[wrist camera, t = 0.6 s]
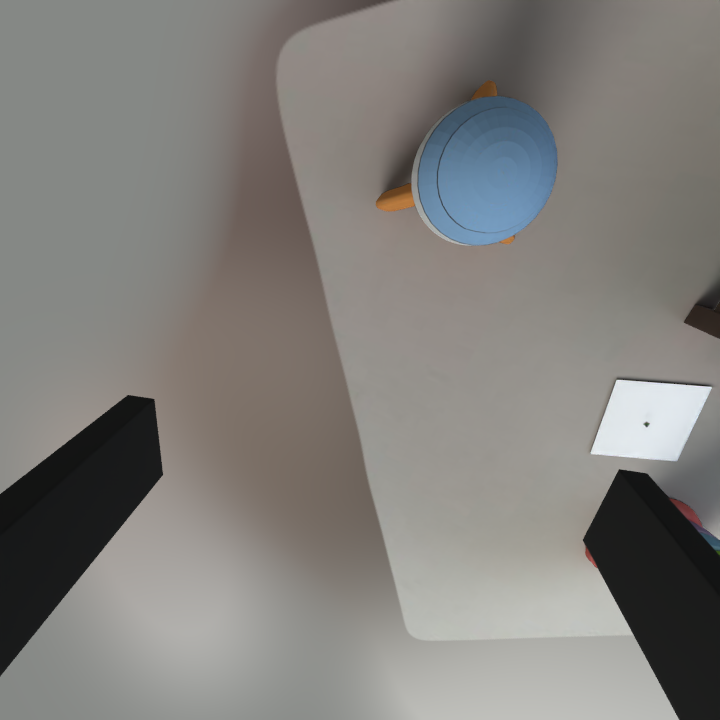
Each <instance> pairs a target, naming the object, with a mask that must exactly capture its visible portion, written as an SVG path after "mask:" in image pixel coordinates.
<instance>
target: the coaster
mask: <svg viewBox="0 0 720 720" xmlns="http://www.w3.org/2000/svg"><path fill="white" fill-rule="evenodd" d="M711 388H712V387H706V386H693V385H680V384H667V383H654V382H641V381H627V380H616V383H615V386H614V389H613V392H612V394H611V397H610V400H609V403H608V405H607V408H606V411H605V414H604V417H603V419H602V422H601V425H600V428H599V431H598V433H597V436H596V439H595V442H594V444H593V447H592V450H591V453H590V454H597V455H608V456H620V457H632V458H643V459H655V460H666V461H677V460H678V458H679V456H680V453H681V451H682V449H683V447H684V445H685V443H686V441H687V439H688V437H689V435H690V432H691V430H692V428H693V426H694V424H695V422H696V420H697V418H698V416H699V414H700V411H701V409H702V407H703V405H704V403H705V401H706V399H707V397H708V395H709V393H710V390H711Z"/></svg>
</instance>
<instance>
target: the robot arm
mask: <svg viewBox="0 0 720 720" xmlns="http://www.w3.org/2000/svg"><path fill="white" fill-rule="evenodd" d="M162 475H163V472H162V462H161V453H160V445H159V436H158V427H157V419H156V411H155V401H154V399H151V398H144V397H137V396H131V395H128V396H127V397H125V398H124V399H122V400H121V401H120V402H118V403H117V404H116V405H115V406H113V407H112V408H111V409H110V410H108V411H107V412H106V413H104V414H103V415H102V416H100V417H99V418H98V419H97V420H95V421H94V422H93V423H92V424H90V425H89V426H88V427H86V428H85V429H84V430H82V431H81V432H80V433H79V434H77V435H76V436H75V437H73V438H72V439H71V440H69V441H68V442H67V443H66V444H65V445H63V446H62V447H61V448H59V449H58V450H57V451H55V452H54V453H53V454H51V455H50V456H49V457H47V458H46V459H45V460H44V461H42V462H41V463H40V464H38V465H37V466H36V467H35V468H33V469H32V470H31V471H29V472H28V473H27V474H26V475H24V476H23V477H22V478H20V479H19V480H18V481H17V482H15V483H14V484H13V485H11V486H10V487H9V488H8V489H6V490H5V491H4V492H2V493H1V494H0V676H1V675H2V673H3V672H4V671H5V670H6V668H7V667H8V666H9V665H10V663H11V662H12V661H13V659H15V657H16V656H17V655H18V654H19V652H20V651H21V650H22V648H23V647H24V646H25V645H26V644H27V642H28V641H29V640H30V639H31V637H32V636H33V635H34V634H35V633H36V631H37V630H38V629H39V628H40V626H41V625H42V624H43V622H44V621H45V620H46V619H47V618H48V616H49V615H50V614H51V613H52V611H53V610H54V609H55V607H56V606H57V605H58V604H59V603H60V602H61V600H62V599H63V598H64V596H65V595H66V594H67V593H68V591H69V590H70V589H71V588H72V586H73V585H74V584H75V583H76V582H77V580H78V579H79V578H80V577H81V575H82V574H83V573H84V572H85V571H86V569H87V568H88V567H89V566H90V564H91V563H92V562H93V561H94V559H95V558H96V557H97V556H98V555H99V553H100V552H101V551H102V550H103V548H104V547H105V546H106V545H107V543H108V542H109V541H110V540H111V538H112V537H113V536H114V535H115V533H116V532H117V531H118V530H119V529H120V527H121V526H122V525H123V524H124V522H125V521H126V520H127V518H128V517H129V516H130V515H131V514H132V512H133V511H134V510H135V509H136V508H137V506H138V505H139V504H140V503H141V501H142V500H143V499H144V498H145V496H146V495H147V494H148V493H149V491H150V490H151V489H152V488H153V486H154V485H155V484H156V483H157V481H158V480H159V479H160V478H161V476H162ZM583 541H584V543H585V545H586V547H587V549H588V551H589V553H590V554H591V556H592V558H593V560H594V562H595V564H596V566H597V567H598V569H599V571H600V573H601V575H602V577H603V579H604V580H605V582H606V584H607V586H608V588H609V590H610V592H611V594H612V595H613V597H614V599H615V601H616V603H617V605H618V607H619V608H620V610H621V612H622V614H623V616H624V618H625V620H626V621H627V623H628V625H629V627H630V629H631V631H632V633H633V634H634V636H635V638H636V640H637V642H638V644H639V646H640V647H641V649H642V651H643V653H644V655H645V657H646V659H647V660H648V662H649V664H650V666H651V668H652V670H653V672H654V673H655V675H656V677H657V679H658V681H659V683H660V685H661V687H662V688H663V690H664V692H665V694H666V696H667V698H668V700H669V701H670V703H671V705H672V707H673V709H674V711H675V713H676V715H677V716H678V718H679V720H720V555H719V554H718V553H717V552H716V551H715V550H714V548H713V547H712V546H711V545H710V544H709V543H708V542H707V541H706V539H705V538H704V537H703V536H702V535H701V534H700V533H699V532H698V530H697V529H696V528H695V527H694V526H693V525H692V524H691V522H690V521H689V520H688V519H687V518H686V517H685V516H684V515H683V513H682V512H681V511H680V510H679V509H678V508H677V507H676V506H675V504H674V503H673V502H672V501H671V500H670V499H669V498H668V497H667V495H666V494H665V493H664V492H663V491H662V490H661V489H660V488H659V486H658V485H657V484H656V483H655V482H654V481H653V480H652V479H651V477H650V476H649V475H648V474H646V473H640V472H633V471H627V470H620V469H619V471H618V473H617V474H616V476H615V478H614V480H613V482H612V484H611V486H610V488H609V490H608V492H607V494H606V496H605V498H604V500H603V502H602V504H601V506H600V508H599V510H598V511H597V513H596V515H595V517H594V519H593V521H592V523H591V525H590V527H589V529H588V531H587V533H586V535H585V537H584V539H583Z"/></svg>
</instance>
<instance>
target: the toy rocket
mask: <svg viewBox="0 0 720 720" xmlns="http://www.w3.org/2000/svg"><path fill="white" fill-rule="evenodd" d="M556 171H557V149H556V145H555V141H554V137H553V134H552V132H551V130H550V128H549V126H548V124H547V123H546V121H545V120H544V119H543V118H542V117H541V115H540V114H539V113H538V112H537V111H535V110H534V109H533V108H531V107H530V106H529V105H527V104H525V103H523V102H520V101H518V100H516V99H513V98H508V97H502V96H497V89H496V84H495V83H494V82H493V81H490V80H488V81H486V82H485V83H484V84H483V85H482V86H481V87H480V88H479V89H478V90H477V91H476V92H475V94H474V96H473V97H472V100H470V101H467V102H465V103H463V104H461V105H459V106H458V107H456V108H454V109H452V110H450V111H449V112H448V113H446V114H445V115H444V116H443V117H441V118H440V119H439V120H438V121H437V122H436V123H435V124H434V126H433V127H432V128H431V129H430V130H429V132H428V133H427V135H426V136H425V138H424V140H423V142H422V143H421V145H420V147H419V149H418V151H417V154H416V157H415V160H414V165H413V170H412V183H408V184H406V185H404V186H401V187H398V188H395V189H391V190H388V191H386V192H384V193H383V194H382V195H381V196H380V197H379V198H378V200H377V201H376V206H377V208H379V209H381V210H384V211H396V210H401V209H405V208H409V207H413V206H416V208H417V211H418V213H419V215H420V216H421V218H422V219H423V221H424V223H425V224H426V225H427V226H428V227H429V228H430V229H431V230H432V231H433V232H434V233H435V234H437V235H438V236H440V237H441V238H443V239H445V240H447V241H450V242H452V243H455V244H460V245H467V246H480V245H488V244H493V243H497V242H500V243H504V244H510V243H511V242H513V240H514V238H515V236H514V234H516V233H517V232H519V231H520V230H522V229H523V228H525V227H526V226H527V225H528V224H529V223H530V222H531V221H532V220H533V219H534V218H535V217H536V216H537V215H538V213H539V212H540V211H541V209H542V208H543V207H544V205H545V203H546V201H547V199H548V198H549V196H550V194H551V191H552V188H553V185H554V182H555V178H556Z"/></svg>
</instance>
